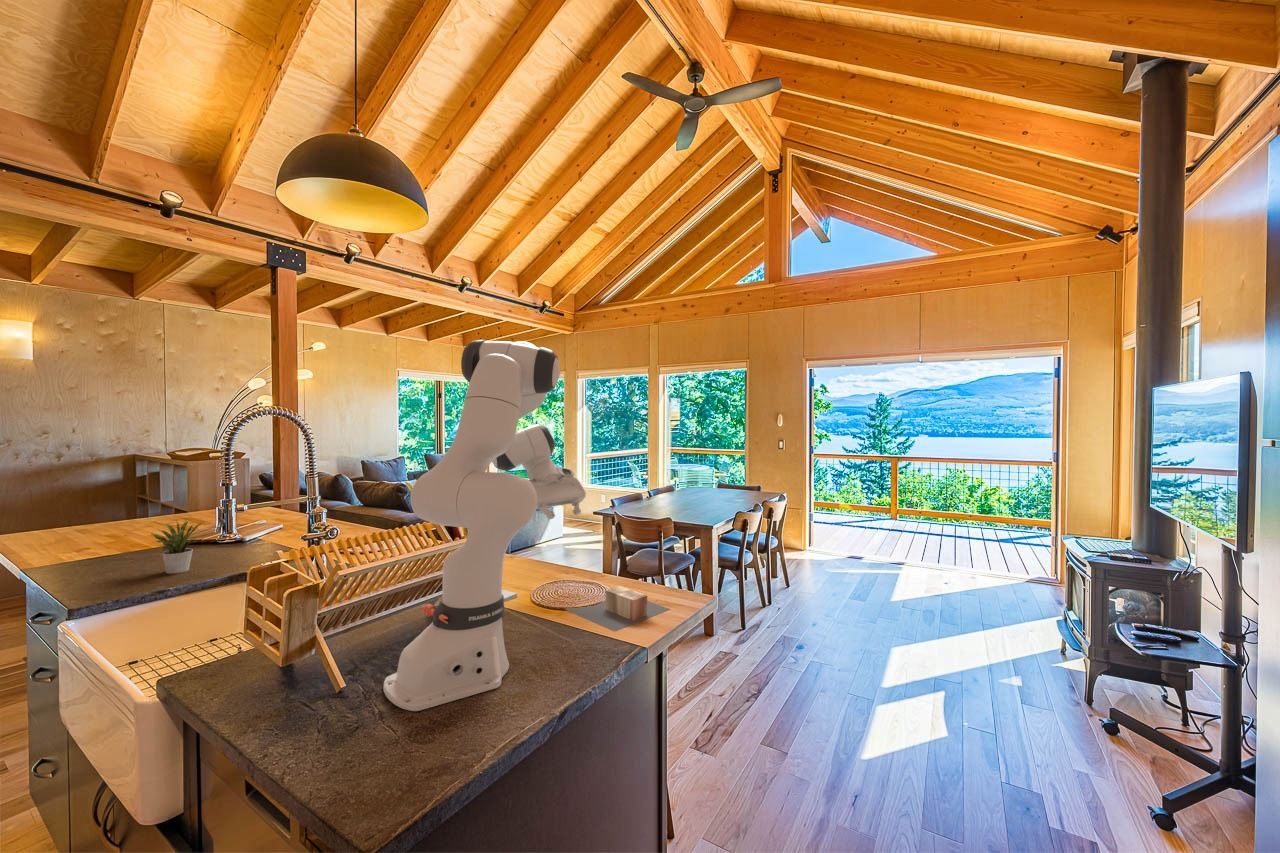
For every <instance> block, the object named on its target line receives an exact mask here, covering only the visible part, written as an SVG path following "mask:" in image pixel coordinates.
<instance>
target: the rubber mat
mask: <svg viewBox="0 0 1280 853" xmlns="http://www.w3.org/2000/svg"><path fill="white" fill-rule="evenodd" d="M570 607H571V606H570ZM570 607H567V608H566V607H565V608H564V610H565V611H567V612H569V613H571V614H574V615H577V616H578V617H581V618H583V619H585V620H587V621H590V622H592V623H594V624H597V625H599V626H601V627H604V628H606V629H609V630H610V631H613V632H617V631H619V630H622V629H624V628H627V627H630V626H633V625H635V624H637V623H640V622H643V621H645V620H648V619H650V618H653V617H655V616H658V615H661V614H662V613H666V612H668V611H670V610H671V608H668V607H667V606H666V607H665V606H663V605H660V604H657V603H654V602H651V601H649V600H647V615H646V616H644V617H641V618H638V619H636V620H630V619H628V618H625V617H623V616H620V615H618V614H615V613H613V612H610V611H608V610H605V602H602V603H600V604H597V605H594V606H587V607H579V608H570Z"/></svg>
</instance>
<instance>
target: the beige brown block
mask: <svg viewBox="0 0 1280 853" xmlns="http://www.w3.org/2000/svg"><path fill="white" fill-rule="evenodd" d="M605 596H606V599H605V610H608V611H610V612H613V613H615V614H618V615H620V616H623V617H625V618H628V619H630V620H636V619H638V618H641V617H644V616H646V615H647V601H648V595H647V594H644V593H641V592H638V591H636V590H633V589H630V588H627V587H624V586H622V585H618V586H615V587H611V588H609V589H606V590H605Z"/></svg>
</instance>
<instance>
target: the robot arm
mask: <svg viewBox="0 0 1280 853" xmlns="http://www.w3.org/2000/svg"><path fill="white" fill-rule="evenodd" d="M460 361H461V362H460V366H461V367H460V368H461V373H462V376H463V377H464V379H465V381H467V383H468V387H467V391H466V393H465V399H464V402H463V407H462V411H461V415H460V419H459V424H458V426H457V431H456V434H455V436H454V439H453V441H452V443H451V444H450V446H449V448H447V451H446V453H445V454H444V455H443V456H442V458H441V459H440V460H439V461H438V463H436V464H435V466H433V467H432V468H431V469H429V471H426V472H425V473H423V474H422V475H421V476H420V477H419V478H417V480H416V481H415V482H414V485H413V487H412V489H411V492H410V506H411V509H412V511H413V514H414V515H415V516H416V517H417V518H419V519H421V520H423V521H426V522H428V523H430V524H431V523H432V524H433V525H438V526H443V527H444V526H446V527H456V528H466V529H467V535H466V540H465V542H464V545H461V546H460V547H458V548H456V549H454V550H453V551H451V552H450V553H449V554H448V555H447V556H446V558H445V560H444V562H443V565H442V592H441V593H442V597H441V598H442V599H441V600H440V601H439V604H438V605H437V606H434V605H433V604H431V603H426V604H424V605H423V607H422V610H421V611H422V613H423V615H425V616H426V617H429V618H430V617H432V622H431V623H430V624H429V625H428V626H427V627H426V628H425V629H423V631H422V632H420V634H418V635H417V636H416V637H415V638H414V639H413V640H412V641H411V642H410V643H409V644H408V645H407V646H406V647H404V649H403V650H402V651H401V653H400V655H399V660H398V665H397V671H396V672H395V673H392V674H390V675H388V676H386V677H385V679H384V681H383V687H382V688H383V693H384V695H385V697H386V698H387V699H388V701H390V702H391V703H392V704H394V705H395V706H397V707H399V708H401V709H403V710H406V711H411V712H419V711H423V710H426V709H430V708H434V707H436V706H439V705H440V706H441V705H443V704H446V703H450V702H453V701H456V700H457V701H458V700H461V699H464V698H468V697H470V696H474V695H477V694H478V695H479V694H480V693H484V692H487V691H491V690H494V689H498V688H499V687H500V686H501V684H502V679H503V677H504V676H505V675H506V674H507V672H508V670H509V668H510V662H509V659H508V656H507V652H506V651H507V650H506V646H505V640H504V631H503V620H504V616H505V615H504V614H505V611H504V610H505V602H504V596H503V595H502V590H503V586H502V585H503V571H504V562H505V561H504V560H505V557H506V552H507V550H508V548H509V545H510V543H511V541H512V540H513V539H514V537H516V536H515V535H517V533H519V532H520V531H521V530H523V528H525V527H526V526H528V525H529V523H530V522H531V521H532V520H533V518H534V516H535V515H536V511H537V509H538V510H539V511H540V513H542V514H544V515H545V516H546V517H547V519H548V520H553V519H554V518H555V517H556V514H555V512H554V510H551V509H549V508H551V507H558V506H560V507H561V506H565V505H566V506H567V505H572V507H574V508H573V510H572V513H573V514H574V516H578V515H580V514H581V513H582V510H581V508H580V503H582V502H583V500H584V499H585V498H586V496H587V495H586V494H587V493H586V490H585V488H584V487H583V485H582V483H581V482H580V480H579V479H578V478H577V477H576V476H575V473H574V471H573V470H572V469H569V468H565V467H561V466H558V465H556V464H555V462H554V461H553V460H552V458H551V456H552V455H553V453H554V449H555V447H556V443H555V440H554V437H553V436H552V433H551V432H550V430H549V429H548V427H547V426H545V425H543V424H541V423H537V424H536V423H535V424H532V425H530V426H527V427H525V428H522V429H520V430H518V431H517V427H518V426H517V425H518V421H519V420H520V419H521V418H523V417H524V416H526V415H528V414H529V415H530V413H532V412H534V411H535V410H537V409H538V408H539V407H540V406H541V405H542V404H543V402H544V401H545V399H546V397H547V394H548V393H550V392H552V391H553V390H554V389H555V388H556V385H557V384H558V381H559V378H560V374H561V365H560V362H559V357H558V355H557V354H556V353H555V352H554V351H553V349H549V348H548V347H547V348H546V347H543V346H539V347H537V346H536V345H534V344H533V343H532V342H528V341H523V340H522V341H514V342H513V341H506V340H505V341H504V340H501V341H500V340H487V339H479V340H478V339H476V340H472V341H470V342H469V343H468V344H466V346H464V349H463V351H462V355H461V360H460ZM491 464H493V466H494V467H495V468H496V469H498V470H501V471H504V472H493V471H492V472H491V471H490V472H489V471H488V472H487V469H488V467H489V466H490V465H491ZM519 466H522V467H523V469H524V470H525V471H526V473H527V477H528V479H527V478H525V477H522V476H521V477H520V476H518V475H515V474H510V473H507V472H509V471H511V470H513V469H515V468H517V467H519Z"/></svg>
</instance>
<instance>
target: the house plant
mask: <svg viewBox="0 0 1280 853" xmlns="http://www.w3.org/2000/svg"><path fill="white" fill-rule="evenodd" d="M175 521H176V529H175V528H174V527H173V526H172V524H169V523H168V522H166V523H161V524H162V525H163V526H165V527H166V528H168V530H169V531H170V532H168V531H166V530H163V529H160V528H157V527H152V526H151V528H154V529H156V530H158V531H159V532H161V533H162V534H163V535H164V536H165V537H164V536H163V535H160V534H157V533H152V532H151V533H149V534H150V535H151V536H153V537H154V538H155V539H157V540H155V541H153V542H152V544H154V543H162V544H164V545H162V546H161V547H160V549H161V548H165V547H166V548H167V549H168V550H166V551H163V552H162V553H161V554H162V558H163V563H164V569H165V572H166V574H170V575H173V574H180V573H181V574H182V573H184V572H188V571H189V570H190V565H191V560H192V556H193V555H192V554H193V551H194V549H193V548H190V547H189V548H188V545H190V544H192V543H197V542H199V538H201V539H202V537H201V536H195V537H193V538H190V539H189V537H190V535H192V534H193V533H194V532H195V531H196V530H197V529H198V528H199V527H200V526H202V524H204V523H207V522H208V520H205V521H202V522H200V523H196V524H195V523H194V521H192V522H191V523H189V522H190V519H187V520H185V521H184V522H183V523H182V525H181V527H180V523H179V522H178V520H177V519H176V520H175ZM211 521H212V520H210V522H211ZM188 523H189V524H188ZM186 528H188V529H186ZM176 530H177V531H176ZM185 532H186V533H185ZM166 537H167V538H166ZM188 539H189V540H188ZM195 539H198V540H195Z"/></svg>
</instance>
